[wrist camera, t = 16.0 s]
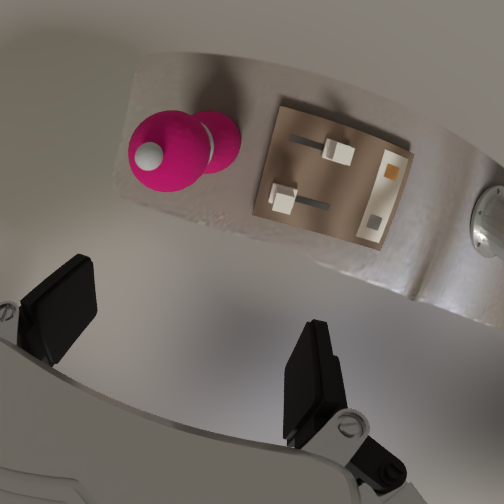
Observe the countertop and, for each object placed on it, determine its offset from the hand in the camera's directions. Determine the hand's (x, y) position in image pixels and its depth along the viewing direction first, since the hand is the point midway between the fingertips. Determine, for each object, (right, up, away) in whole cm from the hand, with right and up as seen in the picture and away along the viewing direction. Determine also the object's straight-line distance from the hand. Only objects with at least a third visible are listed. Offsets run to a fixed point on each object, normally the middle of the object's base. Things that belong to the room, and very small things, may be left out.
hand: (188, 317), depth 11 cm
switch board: (+13, +12, +22) cm, 28 cm away
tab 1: (+6, +10, +22) cm, 25 cm away
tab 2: (+12, +15, +19) cm, 27 cm away
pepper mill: (-2, +17, +22) cm, 27 cm away
